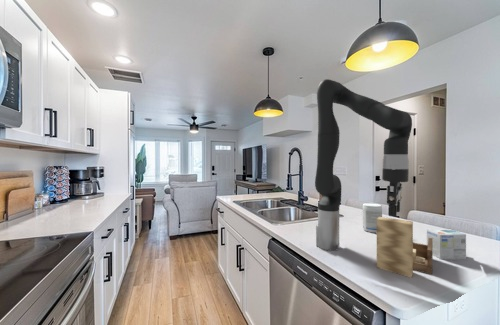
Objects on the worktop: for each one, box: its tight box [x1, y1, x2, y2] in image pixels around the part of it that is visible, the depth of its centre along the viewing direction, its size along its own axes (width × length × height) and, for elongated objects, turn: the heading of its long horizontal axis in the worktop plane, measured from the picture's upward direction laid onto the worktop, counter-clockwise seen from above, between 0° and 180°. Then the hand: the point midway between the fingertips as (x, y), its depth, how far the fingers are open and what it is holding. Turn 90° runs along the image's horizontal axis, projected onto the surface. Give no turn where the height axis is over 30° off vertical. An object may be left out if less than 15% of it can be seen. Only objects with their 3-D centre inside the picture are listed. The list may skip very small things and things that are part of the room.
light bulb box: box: [426, 228, 467, 260], centre depth 85 cm, size 11×7×11 cm, turn 92°
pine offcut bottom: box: [413, 256, 425, 264], centre depth 79 cm, size 12×4×3 cm, turn 49°
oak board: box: [376, 216, 414, 278], centre depth 74 cm, size 10×4×18 cm, turn 48°
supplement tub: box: [362, 202, 383, 234], centre depth 119 cm, size 10×10×15 cm
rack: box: [413, 238, 434, 275], centre depth 82 cm, size 16×15×9 cm
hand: (394, 213), depth 74 cm, fingers open, 8 cm apart
